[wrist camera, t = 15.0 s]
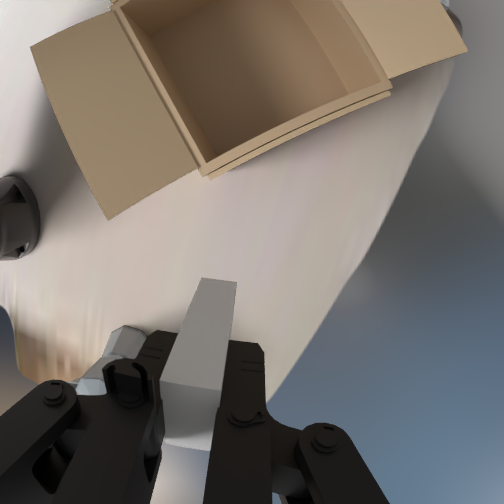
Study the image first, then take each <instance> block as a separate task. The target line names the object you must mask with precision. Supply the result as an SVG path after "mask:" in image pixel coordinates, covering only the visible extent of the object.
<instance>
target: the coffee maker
mask: <svg viewBox="0 0 504 504" xmlns="http://www.w3.org/2000/svg"><path fill="white" fill-rule="evenodd" d="M146 338H147V336H146V335H145V334H144V332H143V331H142V330H138V329H135V328H132V327H128V326H125V325H124V326H122V327H120V328H118V329H117V330H115V331H113V332H112V333H111V335H110V338H109V340H108V343H107V345H106V348H105V350H104V353H103V355H102V357H101V358H100V359H99V360H98V361H97V362H96V363H95V364H94V365H93V366H92V367H91V368H90V369H89V370H88V371H87V372H86V373H85V374H84V375H83V376H82V377H80V378H78V379H76V380H74V381H71V382H67V383H69V384H70V385H71V386H73V387H74V389H75V391H76V393H77V394H78V395H103V394H106V393H107V392H106V387H105V382H104V378H103V373H102V368H103V367H104V366H105V365H106V364H107V363H109V362H111V361H113V360H115V359H122V358H130V359H135V358H136V356H137V355H138V352H139V351H140V349H141V348H142V345H143V343H144V341H145V340H146Z"/></svg>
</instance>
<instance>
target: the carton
mask: <svg viewBox="0 0 504 504" xmlns="http://www.w3.org/2000/svg"><path fill="white" fill-rule="evenodd" d="M110 9H111V11H110V12H107V13H104V14H101V15H99V16H96V17H94V18H91V19H88V20H86V21H83V22H81V23H79V24H76V25H74V26H72V27H69V28H67V29H65V30H63V31H61V32H58V33H56V34H54V35H52V36H50V37H48V38H46V39H44V40H42V41H40V42H38V43H37V44H35V45H33V46H31V47H30V49H31V52H32V55H33V58H34V61H35V64H36V66H37V69H38V72H39V75H40V77H41V80H42V83H43V85H44V88H45V91H46V93H47V96H48V98H49V101H50V103H51V106H52V108H53V110H54V113H55V115H56V117H57V120H58V122H59V124H60V127H61V129H62V131H63V133H64V136H65V138H66V140H67V142H68V144H69V146H70V149H71V151H72V153H73V155H74V157H75V159H76V161H77V163H78V165H79V167H80V169H81V171H82V173H83V175H84V177H85V179H86V181H87V183H88V185H89V187H90V189H91V191H92V193H93V195H94V197H95V198H96V200H97V202H98V204H99V206H100V208H101V209H102V211H103V213H104V215H105V217H106V218H107V220H110V219H112V218H113V217H115V216H116V215H118V214H120V213H121V212H123V211H124V210H126V209H128V208H129V207H131V206H133V205H134V204H136V203H137V202H139V201H141V200H142V199H144V198H146V197H148V196H149V195H151V194H153V193H154V192H156V191H158V190H160V189H161V188H163V187H165V186H167V185H168V184H170V183H172V182H174V181H175V180H177V179H179V178H181V177H183V176H184V175H186V174H188V173H190V172H192V171H194V170H196V169H197V168H198V170H199V172H200V174H201V176H202V177H204V176H206V175H208V174H209V175H208V177H209V179H210V180H212V179H214V178H216V177H218V176H220V175H221V174H223V173H225V172H227V171H229V170H231V169H233V168H234V167H236V166H238V165H240V164H242V163H244V162H246V161H248V160H250V159H252V158H254V157H256V156H258V155H259V154H261V153H263V152H265V151H267V150H269V149H271V148H273V147H275V146H277V145H280V144H282V143H284V142H286V141H288V140H290V139H292V138H294V137H296V136H298V135H300V134H302V133H305V132H307V131H309V130H311V129H313V128H315V127H318V126H320V125H322V124H324V123H326V122H329V121H331V120H333V119H335V118H338V117H340V116H342V115H345V114H347V113H349V112H352V111H354V110H356V109H359V108H361V107H364V106H366V105H368V104H371V103H373V102H376V101H378V100H381V99H383V98H386V97H388V96H391V94H390V92H389V89H391V88H393V86H392V84H391V82H390V80H389V79H391V78H394V77H396V76H399V75H401V74H404V73H407V72H409V71H412V70H415V69H418V68H420V67H423V66H426V65H429V64H432V63H435V62H438V61H441V60H444V59H447V58H450V57H453V56H456V55H459V54H462V53H466V52H468V50H467V48H466V46H465V44H464V42H463V40H462V38H461V36H460V34H459V33H458V31H457V29H456V27H455V26H454V24H453V22H452V21H451V19H450V17H449V16H448V14H447V12H446V11H445V9H444V8H443V6H442V4H441V3H440V1H439V0H120V1H118V2H117V3H115V4H114V5H112V6H111V7H110ZM387 90H388V91H387ZM384 91H386V92H384ZM382 92H383V93H382Z"/></svg>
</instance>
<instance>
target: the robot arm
mask: <svg viewBox="0 0 504 504" xmlns="http://www.w3.org/2000/svg"><path fill="white" fill-rule="evenodd" d="M39 229H40V217H39V210H38V206H37V202H36V199H35V197H34V195H33V193H32V191H31V189H30V188H29V186H28V185H27V184H26V183H25V182H24V181H23V180H22V179H20V178H18V177H15V176H7V177H2V178H0V261H7V260H17V259H20V258H22V257H23V256H25V255H27V254H28V253H30V252H31V251H32V249H33V248H34V246H35V244H36V242H37V239H38V236H39ZM236 286H237V282H232V281H224V280H216V279H209V278H201V281H200V283H199V285H198V288H197V290H196V292H195V295H194V297H193V299H192V302H191V304H190V306H189V309H188V311H187V314H186V316H185V318H184V321H183V323H182V326H181V328H180V331H179V333H172V332H166V331H160V330H156V331H155V332H153V333H152V334H150V335H149V336H147V338H146V340H145V341H144V343H143V345H142V348H141V349H140V351H139V352H138V355H137V356H136V358H135V359H130V358H122V359H115V360H113V361H111V362H109V363H107V364H106V365H105V366H104V367H103V368H102V373H103V378H104V382H105V387H106V392H107V393H106V394H103V395H77V394H76V391H75V389H74V387H73V386H71V385H70V384H69V383H67V382H65V381H62V380H49V381H45V382H43V383H41V384H40V385H38V386H37V387H35V388H34V389H33V390H32V391H31V392H29V393H28V394H27V395H26V396H24V397H23V398H22V399H21V400H20V401H18V402H17V403H16V404H15V405H13V406H12V407H11V408H10V409H9V410H7V411H6V412H5V413H4V414H3V415H2V416H0V504H150V500H151V497H152V493H153V489H154V485H155V481H156V478H157V474H158V470H159V466H160V462H161V459H162V450H161V445H162V442H163V438H164V436H165V443H166V444H171V445H176V446H181V447H187V448H193V449H199V450H206V451H210V458H209V464H208V471H207V477H206V484H205V492H204V499H203V504H272V492H274V493H277V494H279V497H280V500H281V502H282V504H390V503H389V502H388V500H387V499H386V497H385V495H384V494H383V492H382V490H381V489H380V487H379V485H378V484H377V482H376V480H375V479H374V477H373V476H372V474H371V472H370V470H369V469H368V467H367V465H366V464H365V462H364V460H363V459H362V457H361V455H360V454H359V452H358V450H357V449H356V447H355V445H354V444H353V442H352V440H351V439H350V437H349V436H348V435H347V433H346V432H345V431H344V430H343V429H341V428H339V427H337V426H336V425H332V424H328V423H315V424H312V425H309V426H307V427H306V428H304V430H298V429H295V428H291V427H288V426H286V425H283V424H281V423H279V422H278V421H276V420H274V419H273V418H272V417H271V416H270V414H269V412H268V411H267V408H266V397H265V365H264V363H265V362H264V352H263V350H262V349H261V347H260V346H259V344H258V343H251V342H242V341H234V340H230V338H231V329H232V320H233V312H234V303H235V294H236Z"/></svg>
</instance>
